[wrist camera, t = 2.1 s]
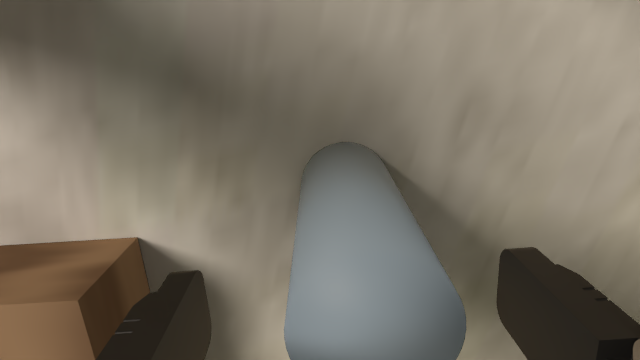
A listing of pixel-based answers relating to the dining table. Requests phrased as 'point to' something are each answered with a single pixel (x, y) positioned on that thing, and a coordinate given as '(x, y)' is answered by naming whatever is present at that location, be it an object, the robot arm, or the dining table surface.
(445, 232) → the dining table surface
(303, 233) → the peg
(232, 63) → the dining table surface
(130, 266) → the socket block
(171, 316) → the robot arm
